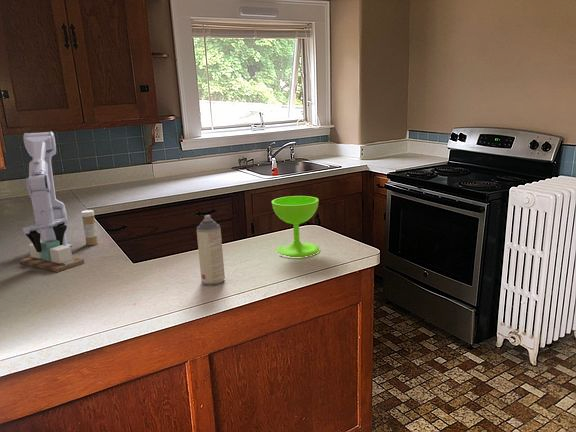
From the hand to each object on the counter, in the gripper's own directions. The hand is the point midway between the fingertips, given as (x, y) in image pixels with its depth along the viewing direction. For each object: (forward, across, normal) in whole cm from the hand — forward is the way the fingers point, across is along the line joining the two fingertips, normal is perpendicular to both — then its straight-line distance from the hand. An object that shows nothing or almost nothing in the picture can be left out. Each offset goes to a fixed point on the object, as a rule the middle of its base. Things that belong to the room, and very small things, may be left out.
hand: (49, 248), depth 161 cm
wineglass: (+5, +46, -72) cm, 86 cm away
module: (+3, 0, 0) cm, 3 cm away
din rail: (+4, 0, 0) cm, 4 cm away
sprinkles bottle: (+5, +21, +7) cm, 23 cm away
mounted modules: (+3, 0, 0) cm, 3 cm away
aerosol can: (+5, +11, -64) cm, 65 cm away
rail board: (+5, 0, 0) cm, 5 cm away
